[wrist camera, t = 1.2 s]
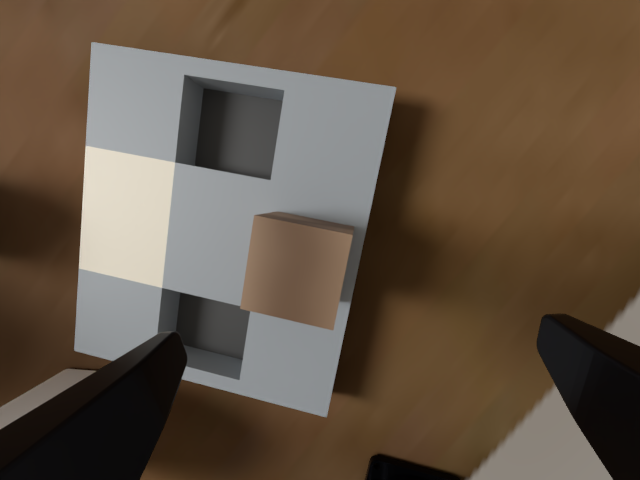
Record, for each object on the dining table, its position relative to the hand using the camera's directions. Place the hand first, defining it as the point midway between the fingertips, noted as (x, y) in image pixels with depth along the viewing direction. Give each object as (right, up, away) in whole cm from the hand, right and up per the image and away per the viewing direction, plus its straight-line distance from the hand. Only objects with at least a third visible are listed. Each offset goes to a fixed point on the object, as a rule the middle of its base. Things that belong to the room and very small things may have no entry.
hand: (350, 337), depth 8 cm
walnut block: (-1, +1, +10) cm, 10 cm away
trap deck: (-7, +3, +13) cm, 15 cm away
